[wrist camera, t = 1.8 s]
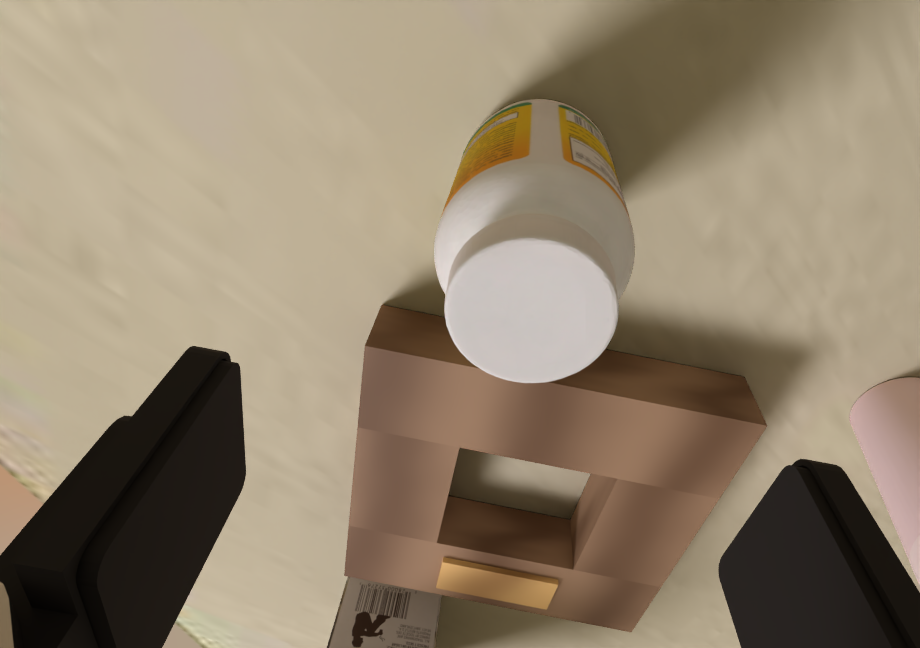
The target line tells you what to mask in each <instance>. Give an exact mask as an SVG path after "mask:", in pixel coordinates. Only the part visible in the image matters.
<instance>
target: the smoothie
mask: <svg viewBox="0 0 920 648" xmlns="http://www.w3.org/2000/svg"><path fill="white" fill-rule="evenodd" d="M850 423H851V426H852V428H853V430H854V433H855V435H856V437H857V440H858V442H859V444H860V447H861V449H862V451H863V454H864V456H865V458H866V461H867V463H868V465H869V468H870V470H871V472H872V475H873V477H874V479H875V482H876V484H877V486H878V489H879V491H880V493H881V496H882V498H883V501H884V503H885V505H886V508H887V510H888V512H889V515H890V517H891V519H892V522H893V524H894V526H895V529H896V531H897V533H898V536H899V538H900V540H901V543H902V545H903V547H904V550H905V552H906V554H907V557H908V559H909V561H910V565H911V567H912V569H913V572H914V574H915V576H916V578H917V580H918V583H919V585H920V378H917V377H906V378H898V379H893V380H890V381H887V382H884V383H881V384H879V385H877V386H875V387H873V388H871V389H870V390H868V391H867V392H865V393H864V394H863V395H862V396H861V397H860V398H859V399H858V400H857V401H856V402H855V404H854V405H853V407H852V409H851V412H850Z"/></svg>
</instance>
